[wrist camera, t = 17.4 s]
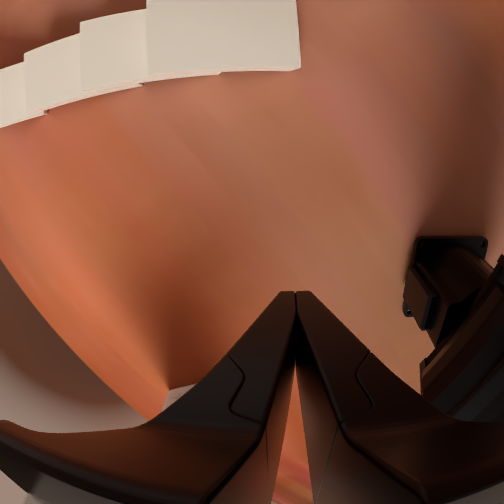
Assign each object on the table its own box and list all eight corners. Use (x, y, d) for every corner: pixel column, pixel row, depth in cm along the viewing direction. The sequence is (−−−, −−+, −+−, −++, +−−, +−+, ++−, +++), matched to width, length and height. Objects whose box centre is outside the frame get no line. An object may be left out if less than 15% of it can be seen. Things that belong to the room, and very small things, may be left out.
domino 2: (219, 3, 14) (80, 22, 12) (222, 70, 16) (81, 90, 14) (215, 11, 15) (86, 28, 14) (218, 74, 17) (88, 93, 15)
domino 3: (135, 19, 14) (24, 53, 13) (138, 83, 16) (26, 113, 15) (139, 25, 16) (34, 56, 15) (143, 85, 17) (37, 112, 17)
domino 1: (295, -2, 13) (146, -1, 11) (300, 67, 15) (148, 74, 13) (285, 6, 15) (147, 8, 13) (289, 71, 16) (149, 78, 15)
